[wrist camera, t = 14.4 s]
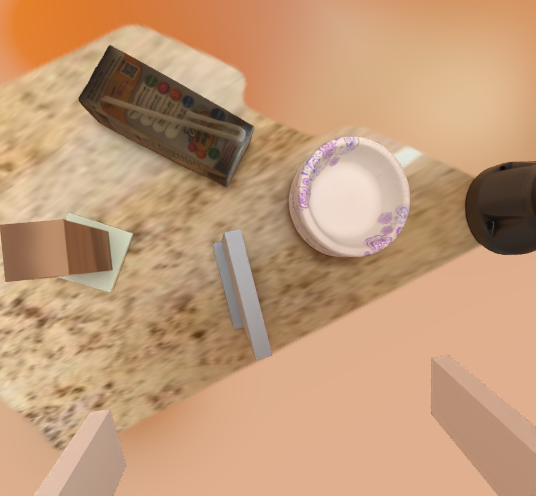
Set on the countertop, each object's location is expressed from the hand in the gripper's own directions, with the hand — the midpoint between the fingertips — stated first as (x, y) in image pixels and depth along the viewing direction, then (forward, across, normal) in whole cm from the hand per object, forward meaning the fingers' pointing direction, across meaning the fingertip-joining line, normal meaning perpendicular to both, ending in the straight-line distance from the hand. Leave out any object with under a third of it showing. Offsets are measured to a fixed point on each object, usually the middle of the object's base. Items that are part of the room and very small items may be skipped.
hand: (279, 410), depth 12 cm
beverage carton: (+33, -8, +17) cm, 38 cm away
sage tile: (+28, -21, +3) cm, 35 cm away
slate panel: (+28, -3, -4) cm, 29 cm away
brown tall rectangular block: (+27, -21, +3) cm, 34 cm away
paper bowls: (+33, +12, +4) cm, 35 cm away
